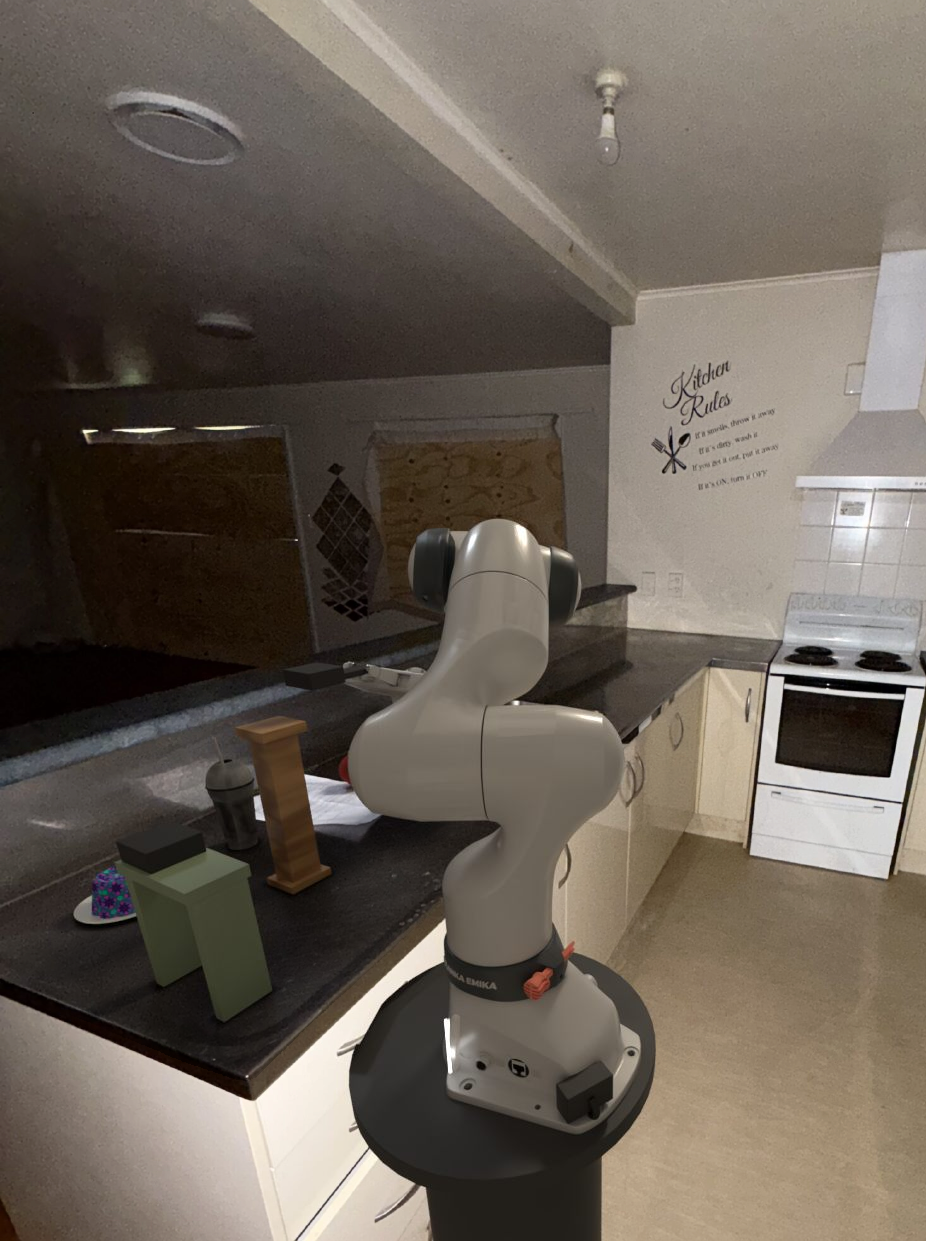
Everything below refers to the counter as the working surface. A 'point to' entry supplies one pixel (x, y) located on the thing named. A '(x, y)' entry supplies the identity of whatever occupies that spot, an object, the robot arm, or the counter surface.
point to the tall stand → (285, 801)
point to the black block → (161, 847)
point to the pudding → (106, 900)
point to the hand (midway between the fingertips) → (358, 667)
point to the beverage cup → (233, 800)
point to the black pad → (321, 675)
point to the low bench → (202, 927)
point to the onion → (344, 770)
